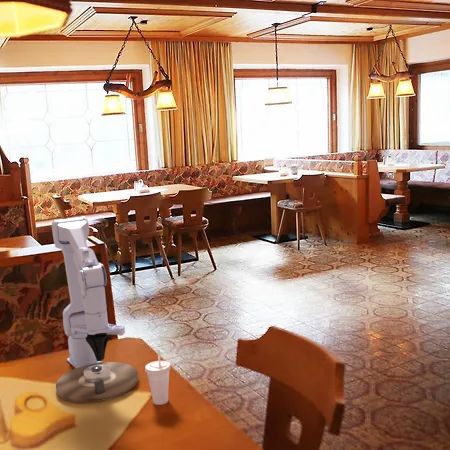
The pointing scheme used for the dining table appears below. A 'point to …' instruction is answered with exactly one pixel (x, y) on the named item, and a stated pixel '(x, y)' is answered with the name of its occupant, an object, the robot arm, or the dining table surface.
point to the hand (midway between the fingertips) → (100, 359)
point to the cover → (96, 373)
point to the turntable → (97, 383)
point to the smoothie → (158, 380)
